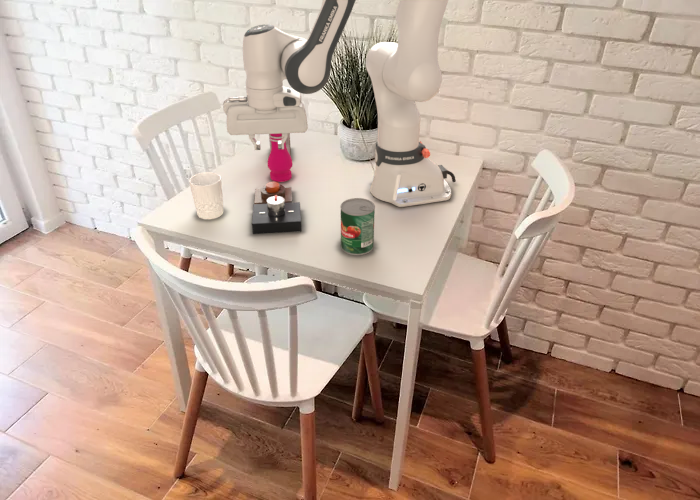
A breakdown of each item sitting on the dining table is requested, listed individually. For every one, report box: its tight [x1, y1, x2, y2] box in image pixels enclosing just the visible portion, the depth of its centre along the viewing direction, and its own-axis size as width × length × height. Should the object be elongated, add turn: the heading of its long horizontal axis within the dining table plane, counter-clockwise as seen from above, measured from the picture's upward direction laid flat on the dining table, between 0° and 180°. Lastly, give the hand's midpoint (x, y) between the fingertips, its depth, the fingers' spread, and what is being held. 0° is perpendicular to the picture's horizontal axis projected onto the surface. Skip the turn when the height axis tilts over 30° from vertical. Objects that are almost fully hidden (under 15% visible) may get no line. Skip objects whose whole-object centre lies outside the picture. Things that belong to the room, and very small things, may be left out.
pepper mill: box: [267, 133, 293, 183], centre depth 159 cm, size 7×7×20 cm
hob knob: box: [267, 195, 285, 217], centre depth 140 cm, size 4×4×4 cm
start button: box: [265, 181, 280, 193], centre depth 151 cm, size 4×4×2 cm
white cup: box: [188, 171, 224, 220], centre depth 144 cm, size 8×8×10 cm
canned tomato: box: [340, 197, 376, 256], centre depth 131 cm, size 8×8×11 cm
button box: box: [253, 183, 293, 204], centre depth 152 cm, size 10×8×4 cm
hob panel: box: [251, 201, 303, 235], centre depth 142 cm, size 12×10×3 cm
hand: (269, 148), depth 145 cm, fingers open, 5 cm apart
